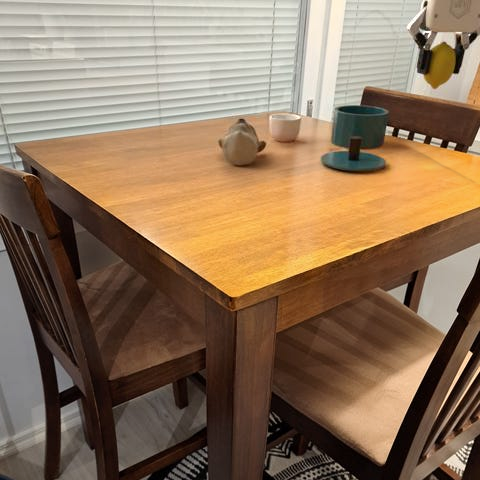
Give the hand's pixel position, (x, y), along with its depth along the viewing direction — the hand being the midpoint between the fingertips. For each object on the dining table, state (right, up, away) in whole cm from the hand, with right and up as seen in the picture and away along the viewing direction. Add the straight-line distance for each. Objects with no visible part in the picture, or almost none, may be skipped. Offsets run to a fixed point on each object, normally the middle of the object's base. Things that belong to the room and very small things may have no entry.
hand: (437, 72), depth 93 cm
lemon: (0, -3, +2) cm, 3 cm away
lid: (-13, -13, +12) cm, 22 cm away
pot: (-9, -3, +28) cm, 30 cm away
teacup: (-26, -2, +31) cm, 40 cm away
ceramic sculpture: (-37, -12, +15) cm, 42 cm away
